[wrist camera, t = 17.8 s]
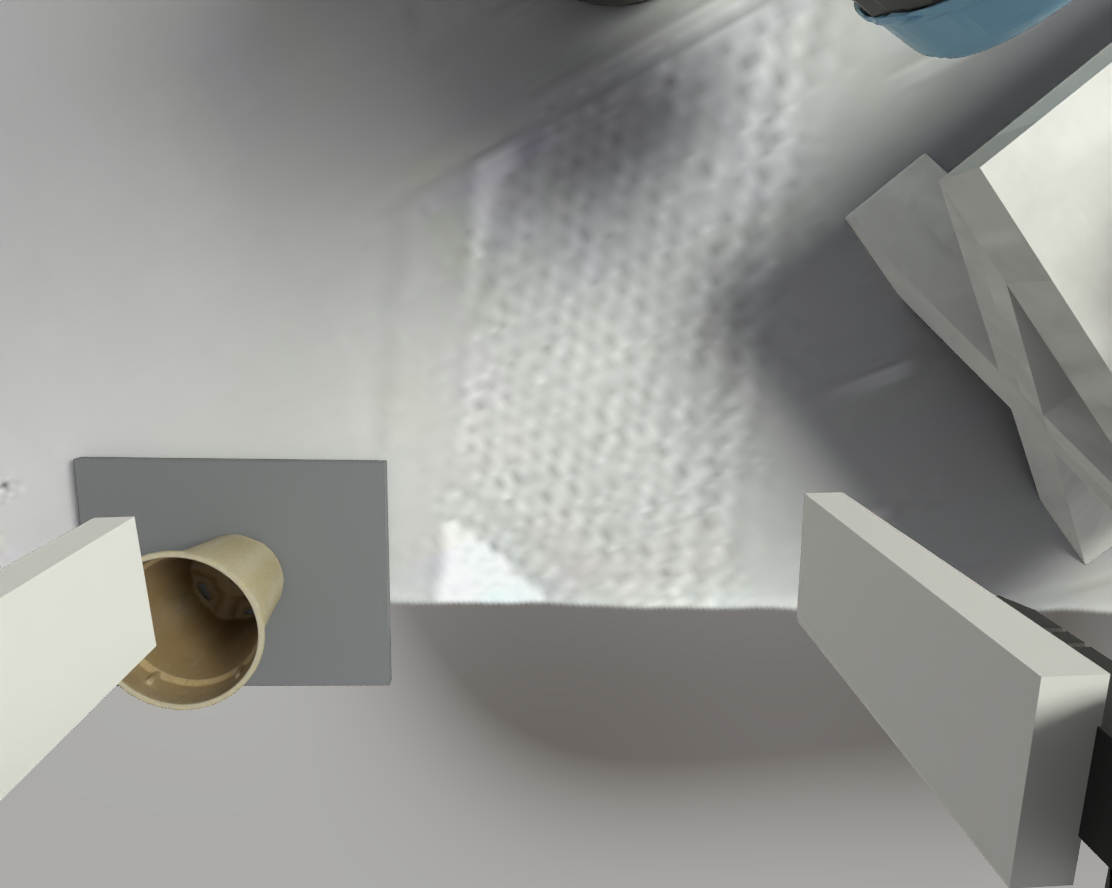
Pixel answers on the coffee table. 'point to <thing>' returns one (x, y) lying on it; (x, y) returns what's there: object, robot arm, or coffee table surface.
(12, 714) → the robot arm
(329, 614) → the charcoal mat
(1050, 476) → the white x-leg stand
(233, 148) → the coffee table surface
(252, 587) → the flower pot
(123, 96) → the coffee table surface
